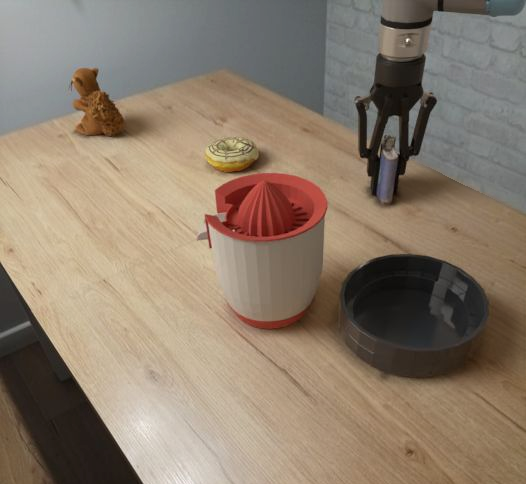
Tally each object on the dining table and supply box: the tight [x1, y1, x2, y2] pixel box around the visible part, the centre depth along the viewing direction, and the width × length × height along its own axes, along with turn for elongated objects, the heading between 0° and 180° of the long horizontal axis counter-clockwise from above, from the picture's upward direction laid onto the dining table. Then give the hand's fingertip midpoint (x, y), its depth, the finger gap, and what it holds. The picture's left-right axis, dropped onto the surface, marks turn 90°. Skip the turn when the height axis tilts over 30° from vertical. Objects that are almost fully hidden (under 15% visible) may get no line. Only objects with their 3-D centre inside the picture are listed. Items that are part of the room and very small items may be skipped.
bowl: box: [337, 253, 490, 378], centre depth 71 cm, size 19×19×6 cm
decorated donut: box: [204, 136, 260, 173], centre depth 106 cm, size 10×11×4 cm
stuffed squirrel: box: [68, 67, 127, 137], centre depth 116 cm, size 10×14×13 cm
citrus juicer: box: [196, 172, 328, 329], centre depth 70 cm, size 16×17×20 cm
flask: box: [375, 134, 399, 206], centre depth 93 cm, size 9×3×11 cm, turn 174°
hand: (383, 190), depth 97 cm, fingers closed on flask, 3 cm apart
